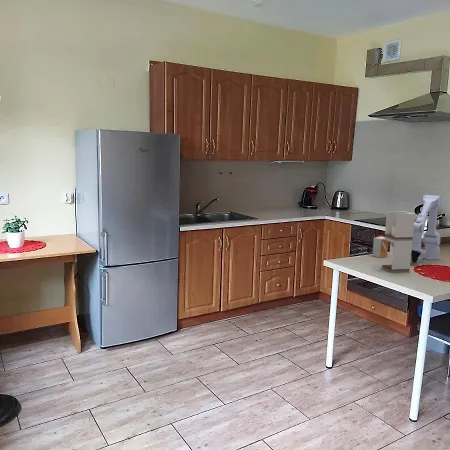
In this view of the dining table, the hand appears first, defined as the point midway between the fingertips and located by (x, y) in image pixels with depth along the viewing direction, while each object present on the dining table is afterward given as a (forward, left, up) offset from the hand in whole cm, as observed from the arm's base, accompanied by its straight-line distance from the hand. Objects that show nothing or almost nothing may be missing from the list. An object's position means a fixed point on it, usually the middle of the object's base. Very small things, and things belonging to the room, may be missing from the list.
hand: (414, 262), depth 275 cm
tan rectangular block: (-1, -7, -1) cm, 7 cm away
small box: (+6, -25, -2) cm, 25 cm away
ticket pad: (-7, -10, -1) cm, 12 cm away
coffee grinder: (+22, +7, -2) cm, 23 cm away
